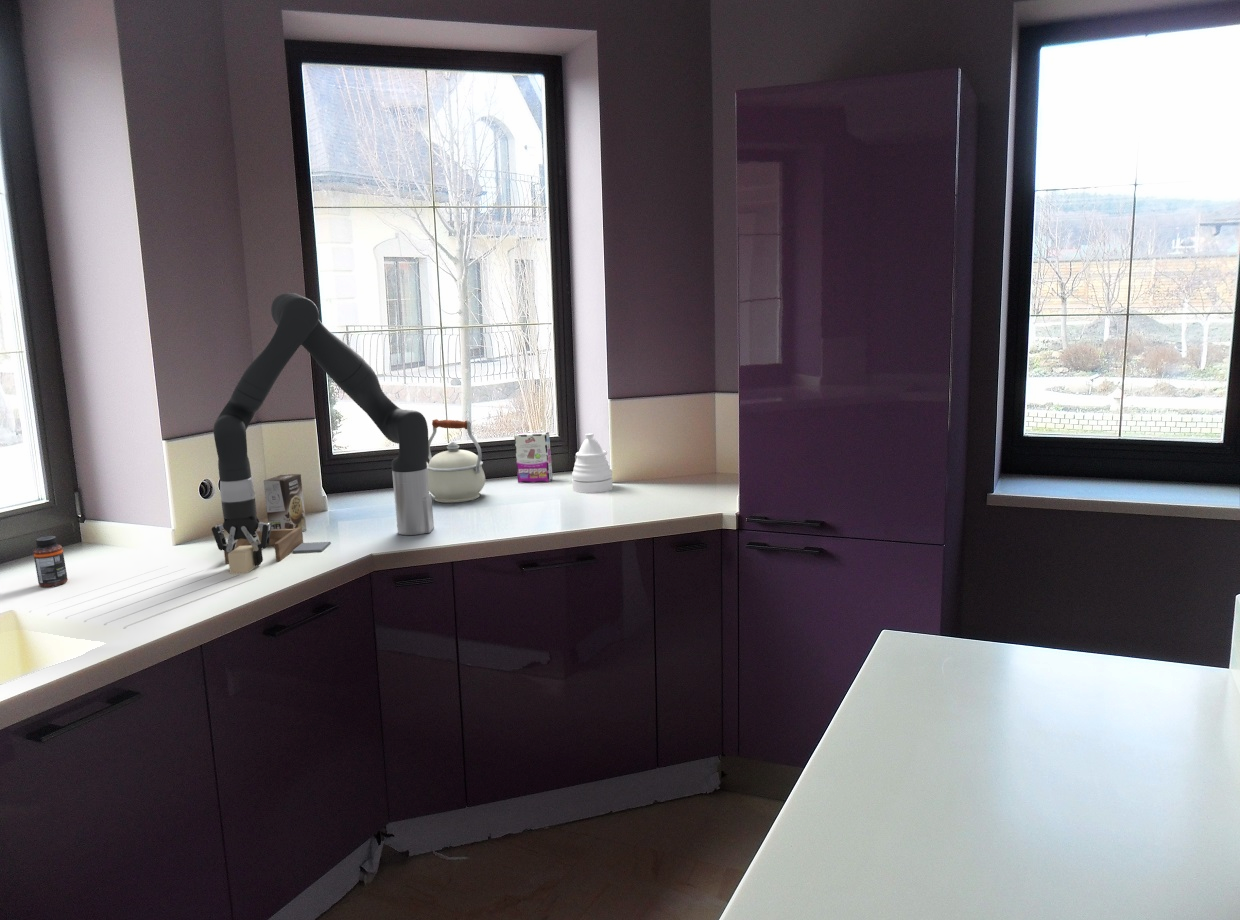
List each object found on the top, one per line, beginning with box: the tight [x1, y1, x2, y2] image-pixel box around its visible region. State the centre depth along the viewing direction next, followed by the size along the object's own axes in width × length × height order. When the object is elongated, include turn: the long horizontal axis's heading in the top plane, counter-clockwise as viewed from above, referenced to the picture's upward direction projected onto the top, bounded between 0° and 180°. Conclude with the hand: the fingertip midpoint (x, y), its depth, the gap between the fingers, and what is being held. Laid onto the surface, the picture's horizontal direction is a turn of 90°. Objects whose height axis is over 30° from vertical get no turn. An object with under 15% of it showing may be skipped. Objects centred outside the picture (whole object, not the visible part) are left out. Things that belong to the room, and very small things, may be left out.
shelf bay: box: [223, 528, 304, 565], centre depth 239 cm, size 14×17×4 cm
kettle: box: [427, 418, 486, 504], centre depth 293 cm, size 25×18×25 cm
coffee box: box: [263, 473, 308, 533], centre depth 257 cm, size 9×6×16 cm
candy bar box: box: [514, 431, 553, 484], centre depth 314 cm, size 11×5×16 cm, turn 81°
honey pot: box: [571, 433, 614, 494], centre depth 297 cm, size 13×13×18 cm
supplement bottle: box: [33, 535, 68, 588], centre depth 219 cm, size 6×6×11 cm
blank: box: [228, 545, 257, 575], centre depth 225 cm, size 4×7×5 cm, turn 0°
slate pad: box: [291, 541, 332, 554], centre depth 241 cm, size 8×8×1 cm
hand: (246, 565), depth 227 cm, fingers open, 5 cm apart
